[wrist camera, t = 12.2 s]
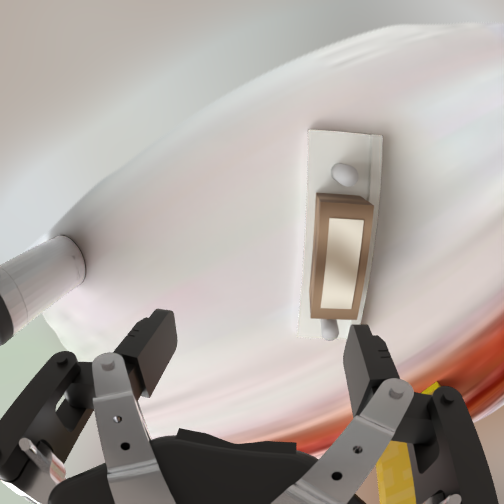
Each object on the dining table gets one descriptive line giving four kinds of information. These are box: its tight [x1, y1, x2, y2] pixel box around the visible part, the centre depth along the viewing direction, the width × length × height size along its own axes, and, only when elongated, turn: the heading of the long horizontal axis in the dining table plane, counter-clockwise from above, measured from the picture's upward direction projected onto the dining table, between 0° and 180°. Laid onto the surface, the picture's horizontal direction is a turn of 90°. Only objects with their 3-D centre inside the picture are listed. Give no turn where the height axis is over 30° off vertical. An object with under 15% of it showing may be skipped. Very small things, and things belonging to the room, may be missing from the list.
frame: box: [309, 193, 374, 320], centre depth 29 cm, size 12×5×6 cm, turn 0°
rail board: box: [297, 129, 383, 341], centre depth 30 cm, size 8×26×6 cm, turn 0°
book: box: [376, 381, 441, 504], centre depth 30 cm, size 17×7×25 cm, turn 140°
